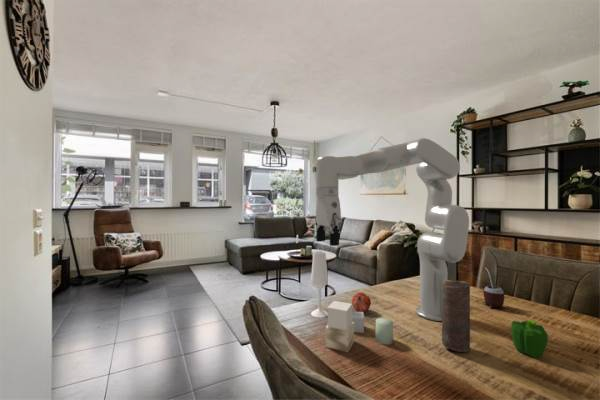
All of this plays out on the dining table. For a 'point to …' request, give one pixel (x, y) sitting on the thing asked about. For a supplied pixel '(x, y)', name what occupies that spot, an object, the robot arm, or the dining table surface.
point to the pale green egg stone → (384, 331)
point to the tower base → (339, 338)
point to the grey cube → (358, 321)
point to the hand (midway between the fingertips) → (327, 243)
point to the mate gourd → (493, 295)
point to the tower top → (339, 315)
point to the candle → (456, 315)
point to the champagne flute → (319, 278)
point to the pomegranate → (361, 302)
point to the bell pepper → (529, 337)
